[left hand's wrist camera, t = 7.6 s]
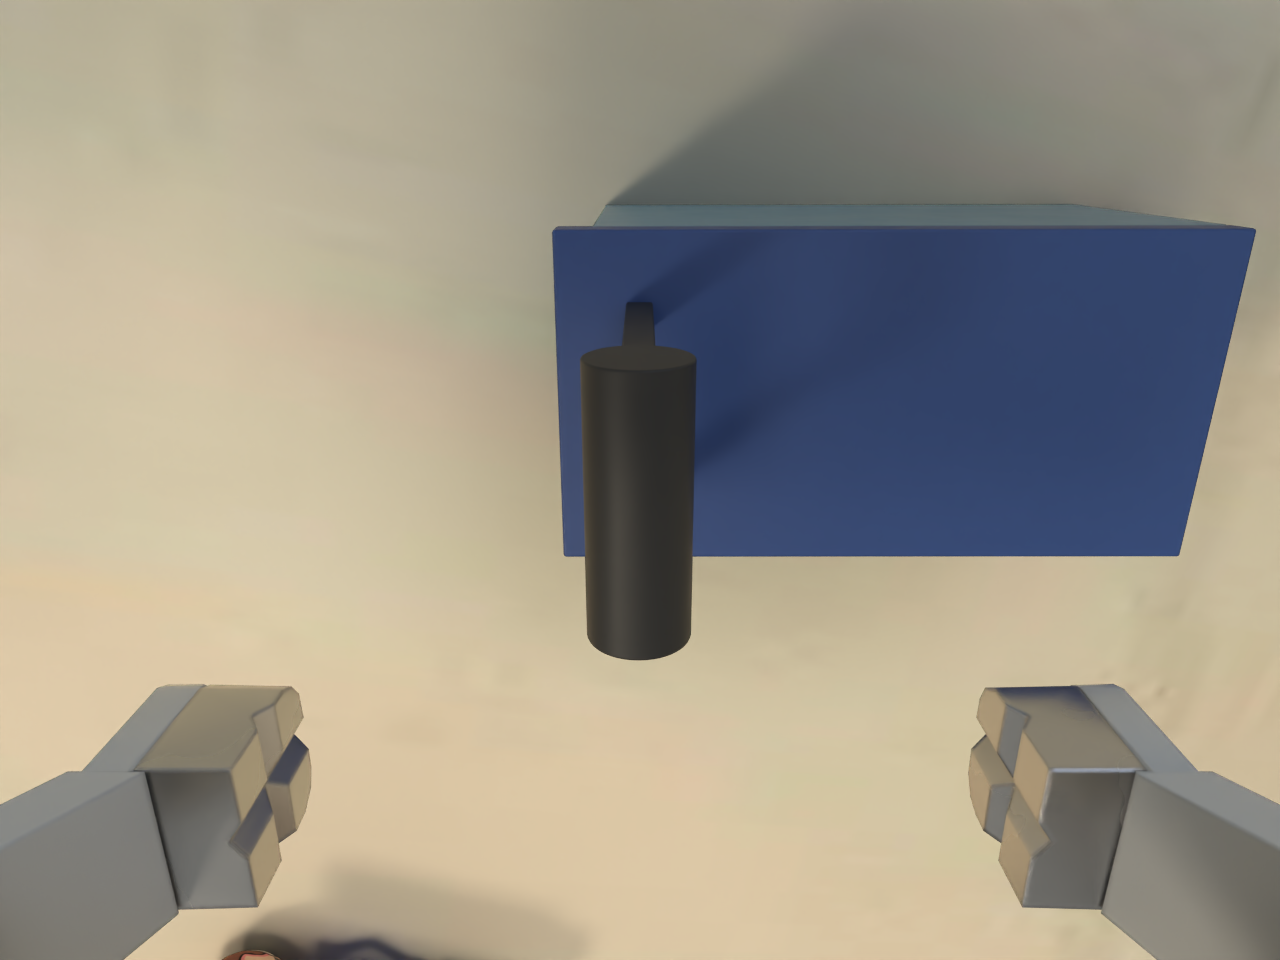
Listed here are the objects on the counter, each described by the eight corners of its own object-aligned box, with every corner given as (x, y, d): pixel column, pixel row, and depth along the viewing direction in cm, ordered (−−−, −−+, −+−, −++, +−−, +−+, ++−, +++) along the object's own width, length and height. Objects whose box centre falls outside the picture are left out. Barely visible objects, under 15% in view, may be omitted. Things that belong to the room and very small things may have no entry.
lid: (566, 542, 27) (530, 731, 18) (555, 225, 24) (504, 272, 15) (1160, 541, 27) (1409, 732, 18) (1231, 224, 23) (1580, 270, 15)
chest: (608, 446, 35) (598, 541, 27) (605, 204, 32) (591, 226, 24) (1033, 445, 35) (1158, 541, 27) (1073, 204, 32) (1230, 224, 24)
